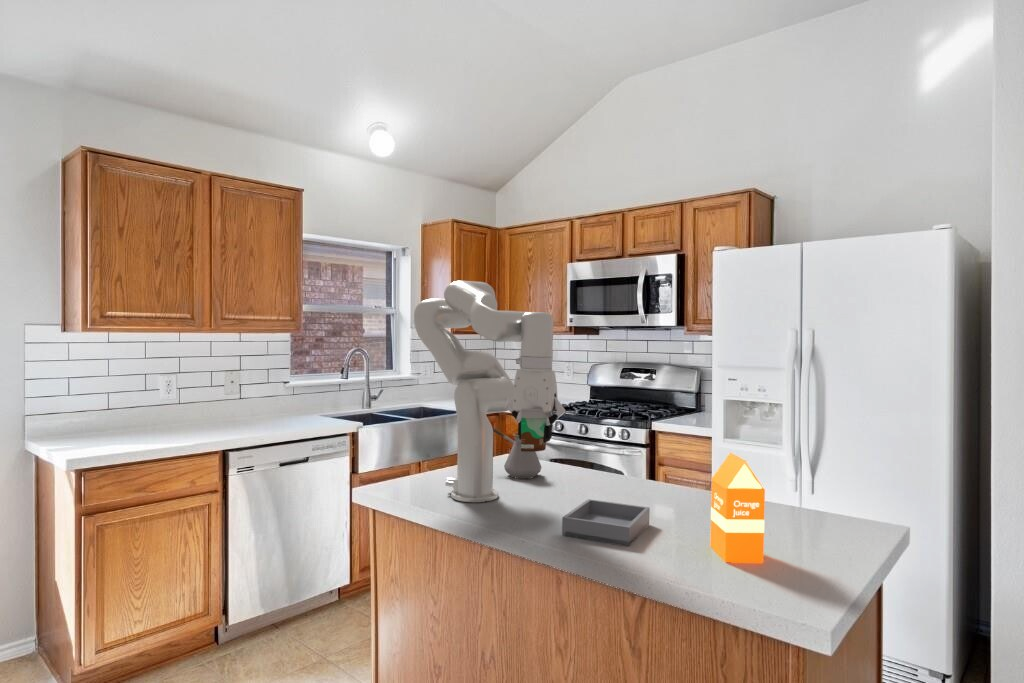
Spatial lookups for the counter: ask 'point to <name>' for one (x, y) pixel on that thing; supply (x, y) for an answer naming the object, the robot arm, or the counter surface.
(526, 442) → the food container
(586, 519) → the grey bin
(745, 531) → the orange juice
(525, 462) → the coffee pot
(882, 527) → the counter surface
